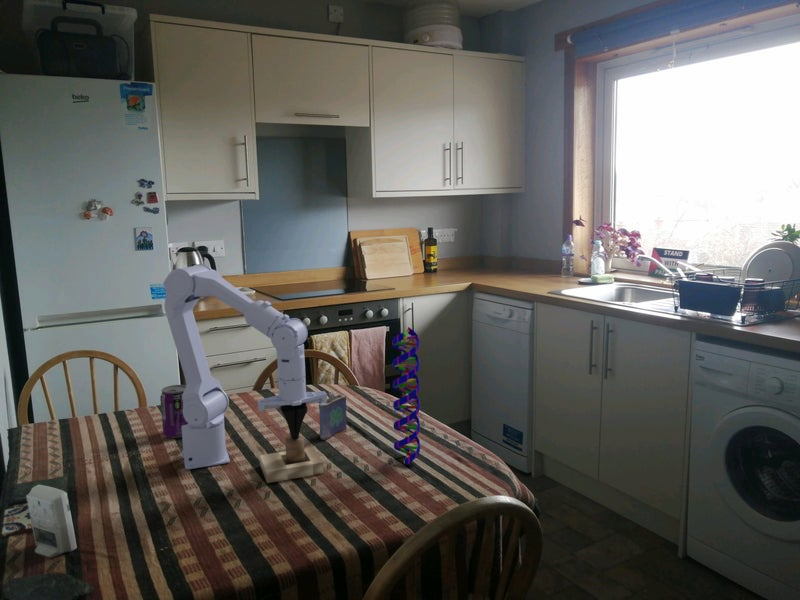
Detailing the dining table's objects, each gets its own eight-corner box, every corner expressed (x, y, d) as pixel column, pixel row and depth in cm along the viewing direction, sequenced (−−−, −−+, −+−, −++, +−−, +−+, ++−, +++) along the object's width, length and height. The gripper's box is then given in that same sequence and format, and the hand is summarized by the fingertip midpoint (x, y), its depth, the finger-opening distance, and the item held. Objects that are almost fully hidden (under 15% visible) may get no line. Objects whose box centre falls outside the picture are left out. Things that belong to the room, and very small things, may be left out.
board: (267, 483, 132) (266, 471, 132) (260, 466, 141) (259, 455, 140) (323, 473, 137) (323, 462, 136) (313, 457, 145) (313, 446, 145)
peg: (288, 474, 137) (287, 443, 135) (284, 466, 140) (283, 436, 139) (307, 470, 138) (306, 440, 137) (302, 463, 142) (301, 433, 141)
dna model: (418, 467, 139) (416, 332, 134) (391, 465, 140) (389, 332, 135) (422, 455, 145) (421, 326, 140) (397, 454, 146) (395, 326, 141)
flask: (325, 441, 154) (323, 398, 152) (316, 438, 156) (314, 396, 154) (349, 429, 162) (348, 388, 160) (340, 426, 163) (339, 386, 162)
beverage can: (187, 439, 156) (183, 392, 154) (158, 440, 156) (154, 393, 154) (197, 429, 163) (193, 384, 161) (169, 429, 163) (166, 384, 161)
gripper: (260, 386, 129) (263, 449, 132) (329, 377, 134) (331, 438, 137) (255, 377, 136) (258, 437, 138) (321, 369, 141) (323, 427, 143)
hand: (294, 437), depth 138 cm, fingers closed
